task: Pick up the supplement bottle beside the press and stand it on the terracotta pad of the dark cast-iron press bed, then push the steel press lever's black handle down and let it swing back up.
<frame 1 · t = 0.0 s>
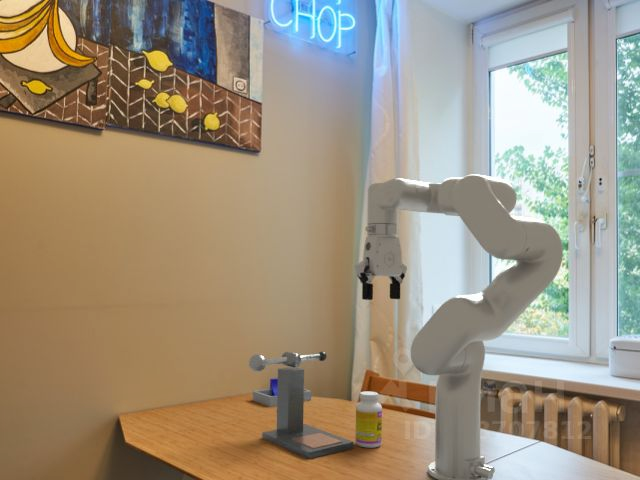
hand: (381, 299, 144), 37 cm above the table, tool pointing down, fingers open, 9 cm apart
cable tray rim: (282, 400, 191), on the table
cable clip: (282, 400, 191), resting in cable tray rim
press frame: (306, 443, 144), on the table
press lever: (289, 359, 150), point 20 cm above the table, hinge at 0.0°
supplement bottle: (368, 445, 143), on the table
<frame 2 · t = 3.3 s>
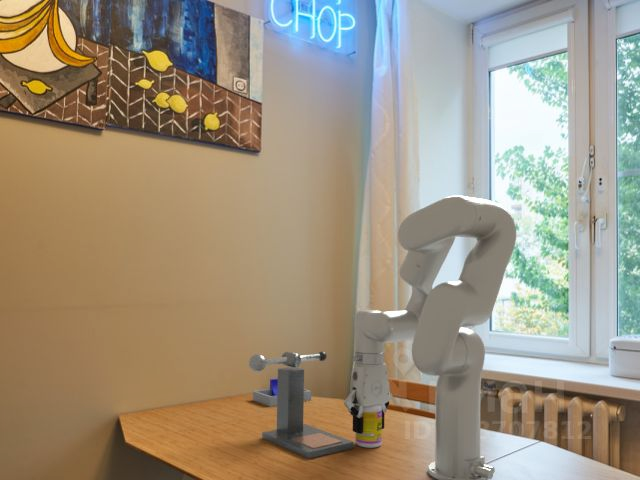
hand: (368, 429, 144), 4 cm above the table, tool pointing down, fingers closed on supplement bottle, 6 cm apart
supplement bottle: (368, 445, 143), on the table, touching gripper
everything else where it was.
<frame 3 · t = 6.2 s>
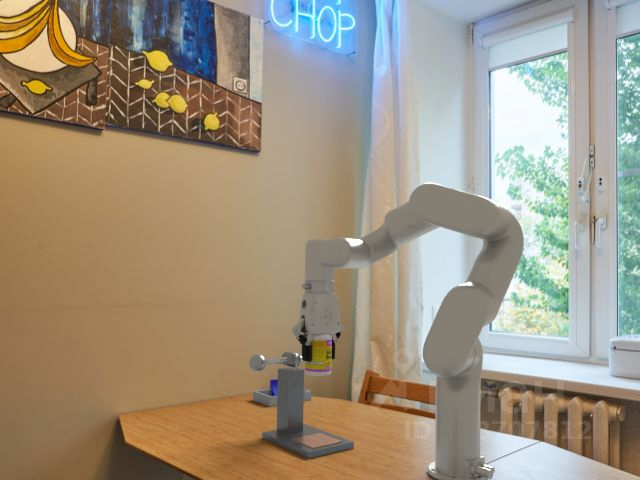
hand: (318, 359, 142), 22 cm above the table, tool pointing down, fingers closed on supplement bottle, 6 cm apart
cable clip: (282, 400, 191), resting in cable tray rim
supplement bottle: (318, 375, 142), point 18 cm above the table, touching gripper
everything else where it was.
when the fingers open (6 cm above the table, at t = 9.6 s): supplement bottle stays where it is, resting on press frame.
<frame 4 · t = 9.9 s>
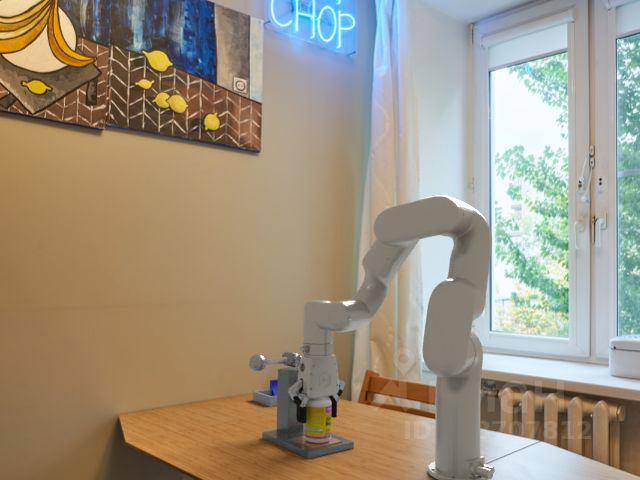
hand: (316, 419, 141), 7 cm above the table, tool pointing down, fingers open, 9 cm apart
supplement bottle: (317, 440, 141), point 2 cm above the table, touching press frame
everything else where it was.
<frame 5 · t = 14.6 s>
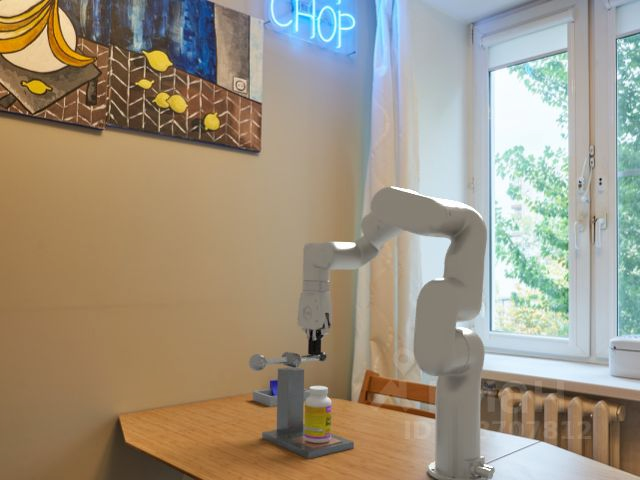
hand: (314, 354, 156), 21 cm above the table, tool pointing down, fingers closed
press lever: (289, 359, 150), point 20 cm above the table, hinge at 0.5°, touching gripper
everything else where it was.
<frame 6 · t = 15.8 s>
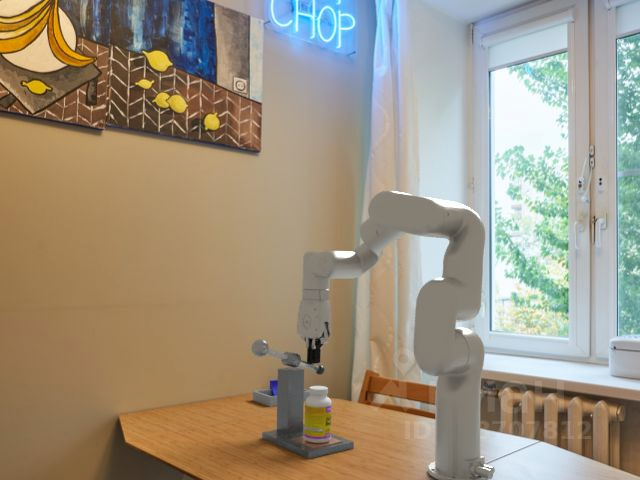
hand: (313, 362, 156), 18 cm above the table, tool pointing down, fingers closed
press lever: (289, 359, 151), point 20 cm above the table, hinge at 20.5°, touching gripper
everything else where it was.
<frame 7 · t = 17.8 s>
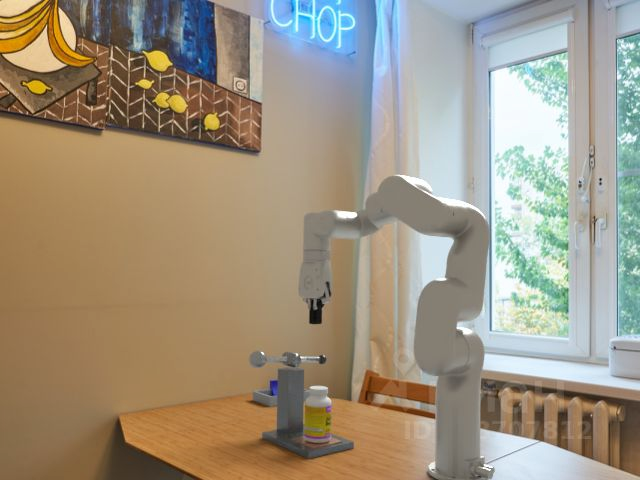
hand: (315, 323, 156), 29 cm above the table, tool pointing down, fingers closed
press lever: (289, 359, 150), point 20 cm above the table, hinge at 4.9°
everything else where it was.
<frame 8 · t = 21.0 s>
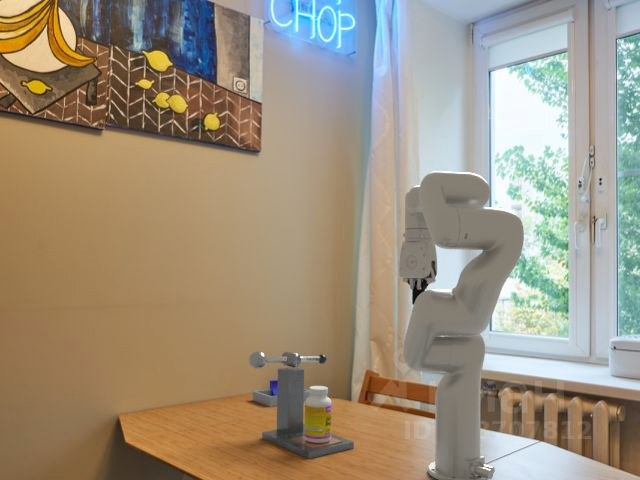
hand: (418, 304, 152), 35 cm above the table, tool pointing down, fingers closed
press lever: (289, 359, 150), point 20 cm above the table, hinge at 4.1°
everything else where it was.
at the end: supplement bottle inside the target area on the press frame (0.2 cm from its centre), point 1.5 cm above the press frame's base; supplement bottle tilted 0°; press lever at +4° (first picture: +0°) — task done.
